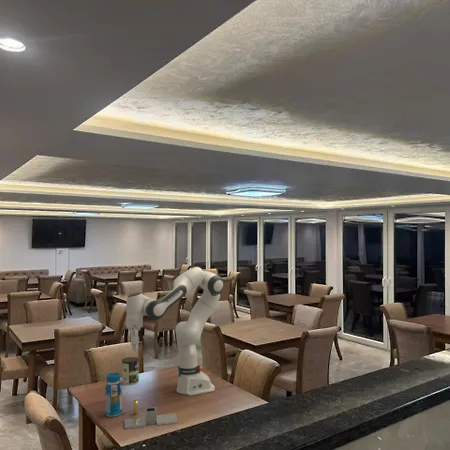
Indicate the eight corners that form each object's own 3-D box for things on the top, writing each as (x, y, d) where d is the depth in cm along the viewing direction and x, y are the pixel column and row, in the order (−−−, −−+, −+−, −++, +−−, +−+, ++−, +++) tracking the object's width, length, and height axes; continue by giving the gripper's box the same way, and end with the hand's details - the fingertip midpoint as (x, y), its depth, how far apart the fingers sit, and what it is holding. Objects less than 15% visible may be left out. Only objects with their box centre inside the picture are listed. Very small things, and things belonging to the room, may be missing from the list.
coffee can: (140, 379, 268) (140, 356, 268) (136, 384, 257) (136, 361, 258) (124, 379, 268) (124, 357, 268) (120, 385, 257) (119, 362, 258)
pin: (138, 413, 216) (137, 399, 216) (138, 415, 214) (138, 401, 214) (133, 413, 216) (133, 400, 216) (133, 415, 213) (133, 401, 213)
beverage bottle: (101, 416, 214) (101, 376, 214) (111, 409, 221) (111, 371, 222) (115, 418, 211) (115, 378, 211) (125, 411, 218) (124, 372, 219)
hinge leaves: (175, 415, 213) (175, 403, 213) (177, 422, 204) (177, 410, 204) (124, 421, 207) (124, 408, 207) (124, 429, 198) (124, 416, 198)
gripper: (140, 327, 216) (140, 354, 215) (140, 319, 236) (139, 344, 235) (128, 327, 214) (127, 355, 214) (128, 320, 234) (128, 345, 234)
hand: (134, 349), depth 225 cm, fingers open, 8 cm apart
